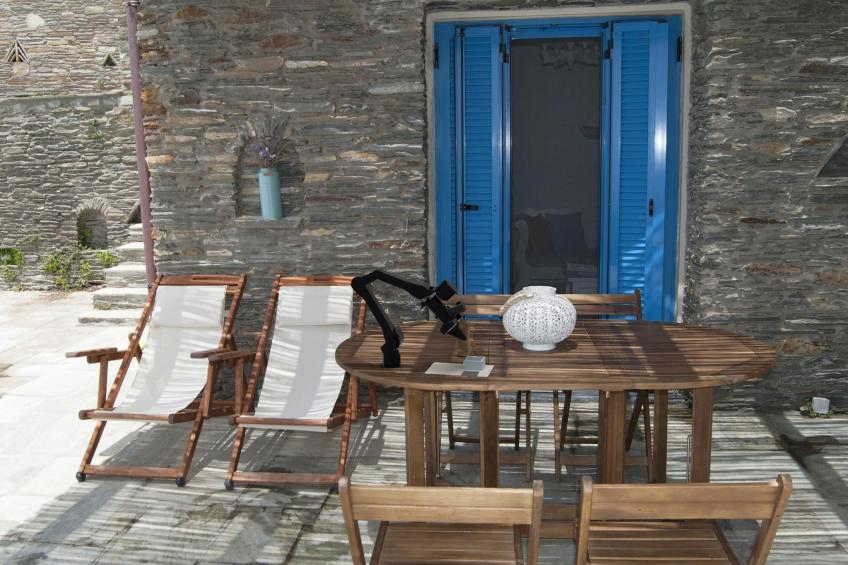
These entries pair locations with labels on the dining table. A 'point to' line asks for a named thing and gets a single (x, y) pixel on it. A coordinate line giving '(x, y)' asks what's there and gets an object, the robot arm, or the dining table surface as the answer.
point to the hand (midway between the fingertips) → (467, 338)
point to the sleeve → (474, 363)
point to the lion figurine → (472, 343)
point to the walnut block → (462, 345)
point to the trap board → (457, 370)
